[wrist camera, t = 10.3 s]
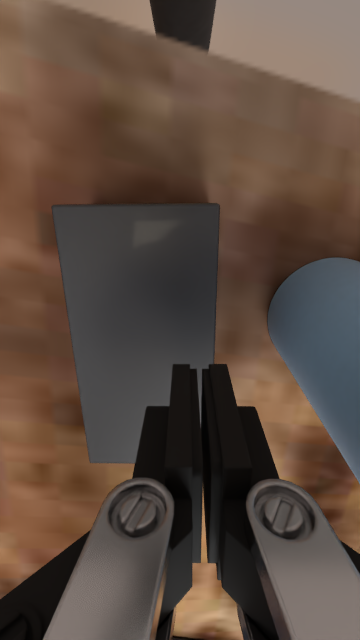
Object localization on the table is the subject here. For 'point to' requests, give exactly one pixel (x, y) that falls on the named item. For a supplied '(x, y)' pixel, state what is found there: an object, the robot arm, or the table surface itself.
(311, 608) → the robot arm
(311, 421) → the table surface
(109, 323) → the block
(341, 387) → the bottle
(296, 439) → the table surface
